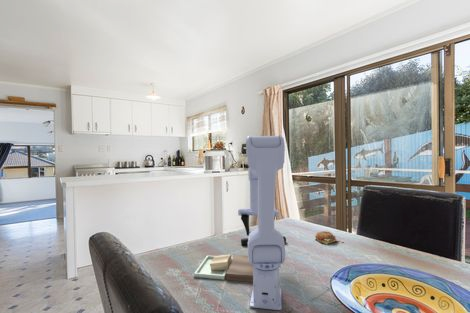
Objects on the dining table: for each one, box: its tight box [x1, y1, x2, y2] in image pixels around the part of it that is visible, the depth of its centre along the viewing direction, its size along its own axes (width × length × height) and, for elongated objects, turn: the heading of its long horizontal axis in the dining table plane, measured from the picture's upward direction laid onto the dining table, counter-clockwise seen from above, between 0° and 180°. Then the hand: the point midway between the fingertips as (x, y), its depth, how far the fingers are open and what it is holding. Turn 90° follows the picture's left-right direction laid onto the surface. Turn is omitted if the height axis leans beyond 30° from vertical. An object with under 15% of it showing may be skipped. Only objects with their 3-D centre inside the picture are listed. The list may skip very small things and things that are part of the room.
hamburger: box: [314, 230, 345, 245], centre depth 107 cm, size 14×14×6 cm
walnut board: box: [225, 254, 253, 283], centre depth 81 cm, size 14×9×2 cm, turn 169°
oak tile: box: [210, 253, 232, 271], centre depth 83 cm, size 6×6×2 cm
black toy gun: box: [240, 231, 287, 246], centre depth 110 cm, size 3×20×16 cm
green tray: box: [193, 255, 234, 280], centre depth 83 cm, size 14×10×1 cm
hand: (258, 235), depth 88 cm, fingers open, 7 cm apart
